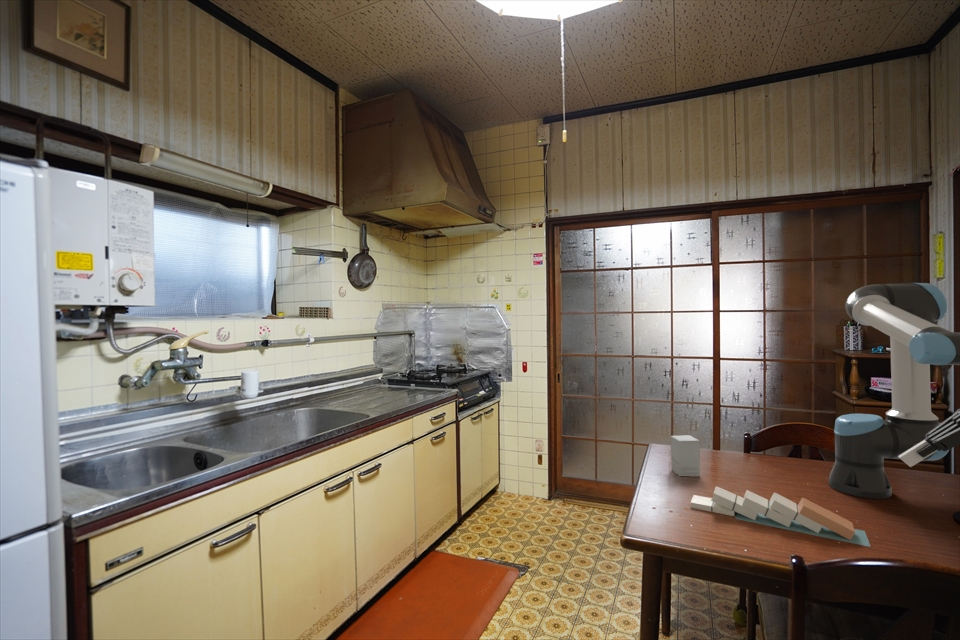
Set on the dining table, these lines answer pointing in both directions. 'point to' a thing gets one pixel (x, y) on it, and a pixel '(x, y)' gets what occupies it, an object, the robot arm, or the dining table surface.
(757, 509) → the domino
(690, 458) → the supplement box
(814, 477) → the dining table surface
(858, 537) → the domino board
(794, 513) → the domino
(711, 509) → the domino
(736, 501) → the domino
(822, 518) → the terracotta domino
